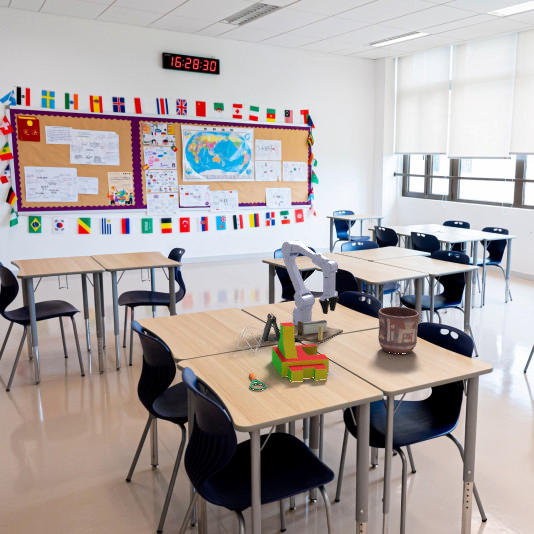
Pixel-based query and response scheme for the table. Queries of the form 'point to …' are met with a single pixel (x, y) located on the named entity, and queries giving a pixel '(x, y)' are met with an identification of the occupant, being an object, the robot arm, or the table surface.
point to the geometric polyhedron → (252, 335)
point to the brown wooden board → (314, 336)
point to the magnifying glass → (256, 381)
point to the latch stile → (320, 333)
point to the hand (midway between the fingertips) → (328, 312)
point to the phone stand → (268, 328)
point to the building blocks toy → (298, 357)
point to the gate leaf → (314, 326)
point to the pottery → (398, 329)
